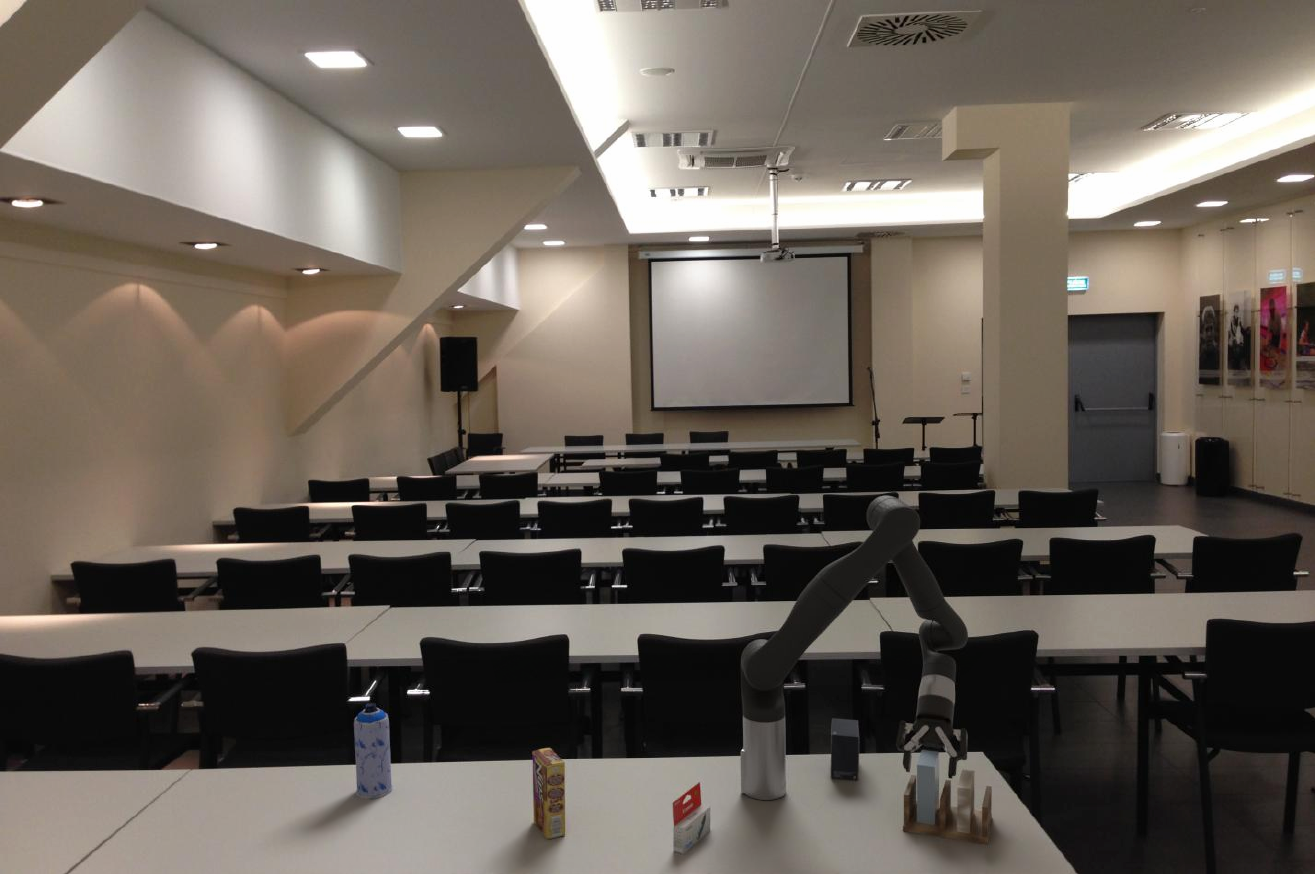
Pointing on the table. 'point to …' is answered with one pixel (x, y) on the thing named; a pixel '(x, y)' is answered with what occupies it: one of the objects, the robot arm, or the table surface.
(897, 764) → the table surface
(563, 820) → the candy box
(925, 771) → the pale blue upright slab
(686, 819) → the ink cartridge box
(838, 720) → the small box
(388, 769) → the aerosol can
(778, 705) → the robot arm
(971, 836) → the rack
